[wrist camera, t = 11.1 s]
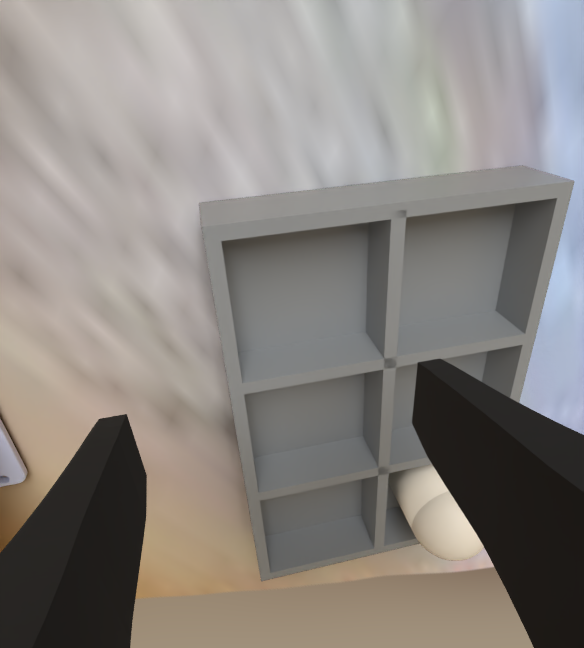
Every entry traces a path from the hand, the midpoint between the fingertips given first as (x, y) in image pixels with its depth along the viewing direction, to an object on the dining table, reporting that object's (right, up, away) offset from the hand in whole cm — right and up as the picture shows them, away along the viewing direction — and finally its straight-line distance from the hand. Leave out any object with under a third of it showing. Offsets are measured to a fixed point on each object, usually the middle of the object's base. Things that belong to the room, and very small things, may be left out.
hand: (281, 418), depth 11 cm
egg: (+8, -7, +17) cm, 20 cm away
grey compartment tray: (+4, -1, +14) cm, 14 cm away
